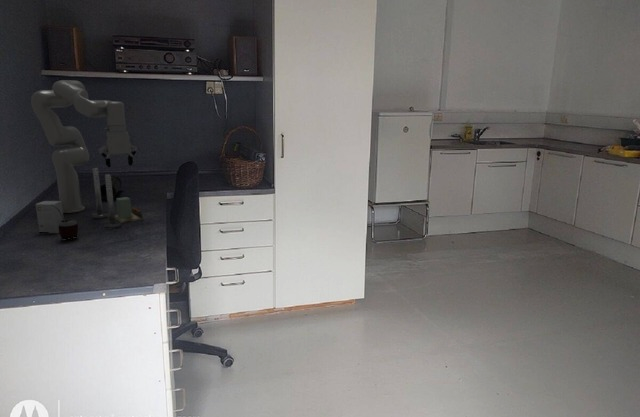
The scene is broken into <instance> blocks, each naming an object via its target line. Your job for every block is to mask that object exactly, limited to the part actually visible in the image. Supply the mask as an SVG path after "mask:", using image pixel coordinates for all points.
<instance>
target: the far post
mask: <svg viewBox="0 0 640 417" xmlns="http://www.w3.org/2000/svg"><path fill="white" fill-rule="evenodd" d="M99 175H100V172H99V167H92V177H93V185H94V186H93V187H94V195H95V203H96V205H95V206H96V213H95V212H94V213H93V214H92V215H91V217H92V219H93V220H103V219H108V218H109V212H105V211H104V212H103V205H102V204H103V203H102V202H103V201H102V198H101V192H100V186H101V184H100V176H99Z"/></svg>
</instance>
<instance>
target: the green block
mask: <svg viewBox="0 0 640 417" xmlns="http://www.w3.org/2000/svg"><path fill="white" fill-rule="evenodd" d="M115 201H116V210H117V211H116V212H117V213H116V214H117V215H118V217H119V218H121V219H124V218H130V217H132V204H131V198H129V197H128V196H127V197H126V196H125V197H124V196H123V197H116V198H115Z"/></svg>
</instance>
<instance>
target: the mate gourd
mask: <svg viewBox="0 0 640 417" xmlns="http://www.w3.org/2000/svg"><path fill="white" fill-rule="evenodd" d="M51 205H52V204H51ZM52 206H54V205H52ZM54 207H55V208H56V209H57V210H58V212H59V213H60V215H61V217H62V219H63V220H62V221H61V222H60V223H59V235H60V238H61V240H62V239H68V238H70V239H73V237H78V233H79V231H78V230H79V225H78V222H77V221H76V220H75V219H72V218H69V219H68V218H67V219H65V218H63V217H64V215H63V216H62V214H61V212H60V210H59V209H58V208H57V207H56V206H54ZM73 240H74V239H73Z"/></svg>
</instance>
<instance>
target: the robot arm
mask: <svg viewBox="0 0 640 417" xmlns="http://www.w3.org/2000/svg"><path fill="white" fill-rule="evenodd" d="M30 103H31V108H32V110H33V112H34V114H35V116H36V118H38V121H39V122H40V126H41V127H42V130H43V131H44V132H43V133H44V135H45V138H46V139H47V142H48V143H49V144H50V146H52V147H62V148H57V149H56V150H54V151H53V152H52V153H51V160H52V163H53V166H54V169H55V170H54V171H55V175H56V181H57V182H56V183H57V189H58V197H59V198H58V199H59V201H61V202H62V210H63V214H73V213H74V214H75V213H80V212H83V211H84V210H86V206H84V205H82V198H81V190H80V181H79V175H78V172H77V171H76V169H75V168H74V167H76V166H77V167H78V166H82V165H86V164H87V163H89V160H90V154H89V150H88V148H87V145H86V142H85V140H84V138H83V135H82V133H81V131H80V130H79V129H78V128H77V127H76V126H72V125H71V126H69V125H66V126H64V125H63V123H62V122H61V119H60V118H59V116H58V115H57V113H55V111H53V110H52V108H53V109H54V108H55V109H56V108H57V109H58V108H68V107H70V106H72V105H73V106H74V108H75V111H76V112H78V113H79V114H81V115H84V116H85V117H88V118H106V122H107V126H105V127H104V130H106V136H105V145H103V146H101V147H100V148H98V149H97V150H98V152H99V154H100V155H101V156H102V157H103V158H105V166H106V167H108V168H111V159H110V157H111V156H112V155H114V156H115V155H128V156H127V161H128V162H127V163H128V165H129V166H133V164H134V161H133V159H134V158H133V157H134V156H135V155H136V153H137V151H138V148H139V147H138V146H136V145H133V144H131V141H130V140H131V138H130V135H129V132H128V131H127V127H126V116H125V104H124V102H123V101H117V100H116V101H115V100H114V101H112V100H108V99H107V100H105V99H101V100H99V99H97V100H96V99H95V100H94V99H93V100H90V99H89V94H88V91H87V90H86V87H85V85H84V84H83V83H82V82H81V81H79V80H75V79H73V80H70V79H66V80H65V79H61V80H57V81H55V82H54V83H53V85H52V86H51V89H42V90H38V91H36V92H33V94H32V95H31V100H30ZM66 146H69V147H66ZM132 149H133V150H132ZM104 150H106V153H104Z"/></svg>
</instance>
